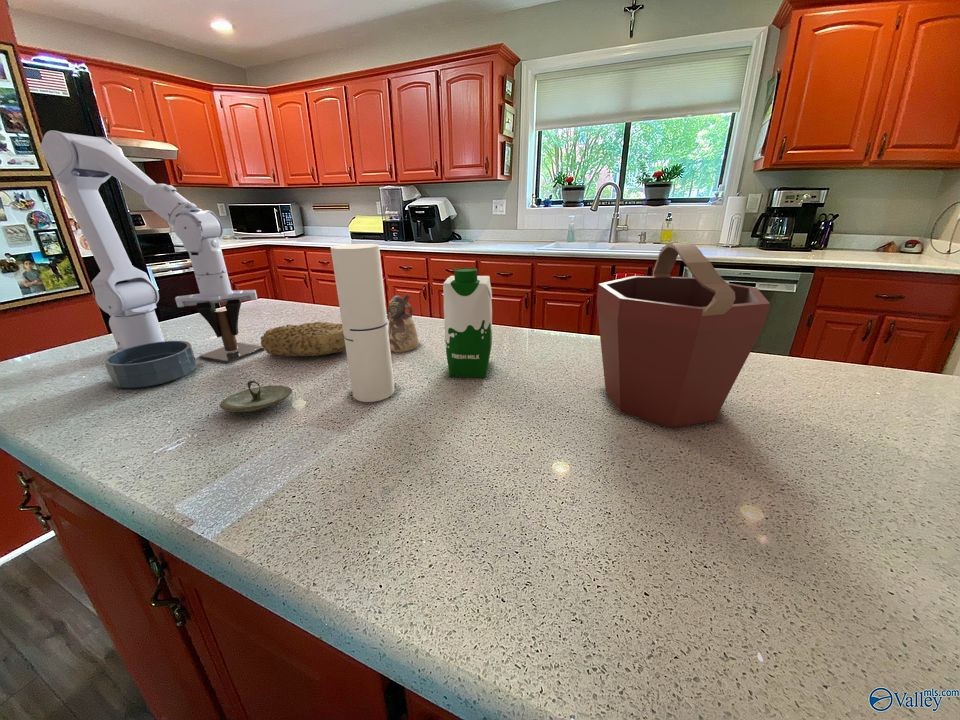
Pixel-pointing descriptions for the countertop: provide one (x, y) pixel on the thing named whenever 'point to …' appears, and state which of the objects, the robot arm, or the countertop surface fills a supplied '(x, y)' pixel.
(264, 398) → the lid
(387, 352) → the cylindrical container
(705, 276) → the bucket
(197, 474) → the countertop surface
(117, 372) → the bowl
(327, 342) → the sponge
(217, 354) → the square mirror plate
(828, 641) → the countertop surface
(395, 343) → the figurine
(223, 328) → the brown wooden peg
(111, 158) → the robot arm
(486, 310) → the milk carton
